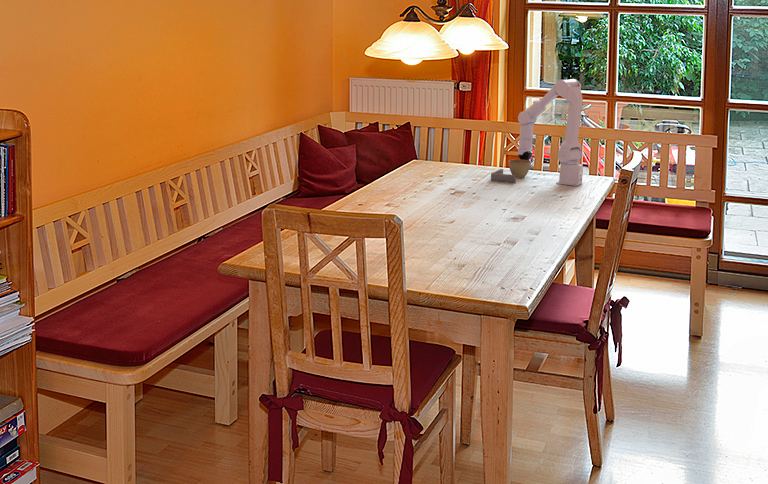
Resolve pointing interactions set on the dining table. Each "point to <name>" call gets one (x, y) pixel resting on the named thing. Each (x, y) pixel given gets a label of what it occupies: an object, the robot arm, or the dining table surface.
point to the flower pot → (519, 167)
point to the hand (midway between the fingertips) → (524, 168)
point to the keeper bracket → (502, 177)
